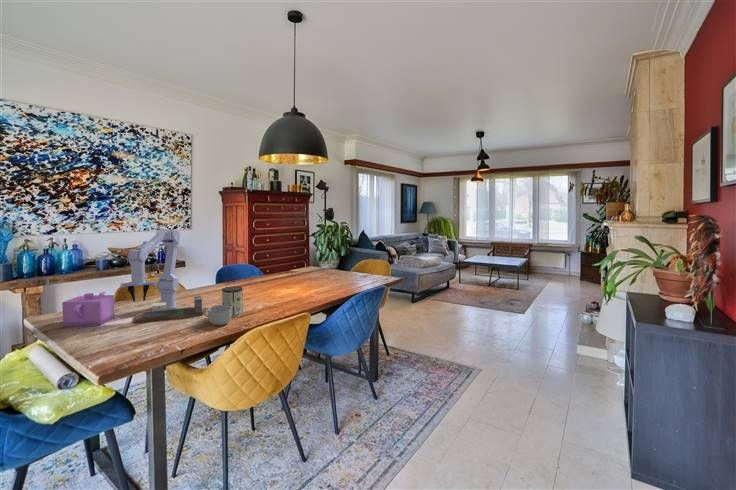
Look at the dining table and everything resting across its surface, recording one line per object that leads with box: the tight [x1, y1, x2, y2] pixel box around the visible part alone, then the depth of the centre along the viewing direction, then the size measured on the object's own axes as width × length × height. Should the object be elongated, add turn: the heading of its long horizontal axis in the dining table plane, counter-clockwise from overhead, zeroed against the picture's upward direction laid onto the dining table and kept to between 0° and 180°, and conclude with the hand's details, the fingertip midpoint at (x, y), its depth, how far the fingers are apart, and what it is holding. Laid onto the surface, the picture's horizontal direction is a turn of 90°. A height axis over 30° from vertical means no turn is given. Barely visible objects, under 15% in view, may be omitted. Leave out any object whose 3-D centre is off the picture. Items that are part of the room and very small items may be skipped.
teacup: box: [202, 304, 232, 327], centre depth 175 cm, size 14×11×8 cm
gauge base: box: [134, 294, 204, 324], centre depth 185 cm, size 12×30×8 cm, turn 119°
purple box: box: [61, 291, 116, 328], centre depth 173 cm, size 15×25×14 cm, turn 10°
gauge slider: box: [151, 302, 166, 311], centre depth 182 cm, size 9×6×5 cm
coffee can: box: [221, 286, 244, 318], centre depth 190 cm, size 10×10×14 cm
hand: (139, 300), depth 178 cm, fingers open, 4 cm apart
